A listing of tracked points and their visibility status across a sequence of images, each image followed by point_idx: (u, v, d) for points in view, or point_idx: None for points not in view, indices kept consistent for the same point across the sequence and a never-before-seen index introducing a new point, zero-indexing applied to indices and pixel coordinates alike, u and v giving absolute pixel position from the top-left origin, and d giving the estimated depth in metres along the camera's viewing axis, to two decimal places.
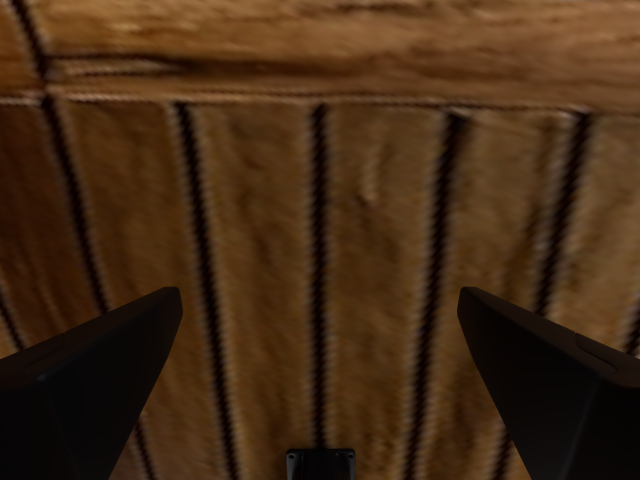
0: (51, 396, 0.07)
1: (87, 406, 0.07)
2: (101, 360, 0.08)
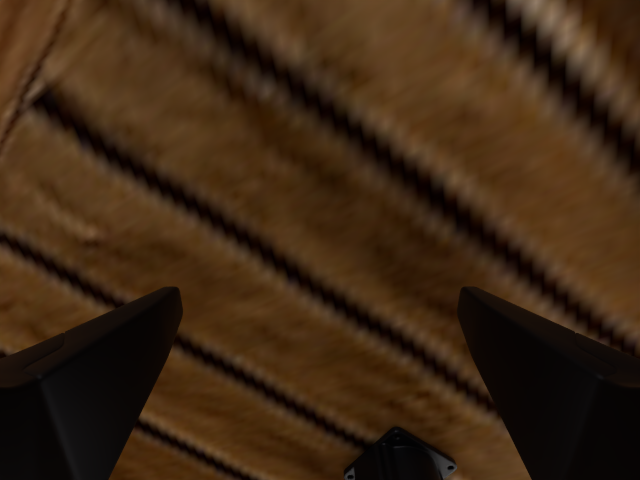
0: (51, 396, 0.07)
1: (87, 406, 0.07)
2: (101, 360, 0.08)
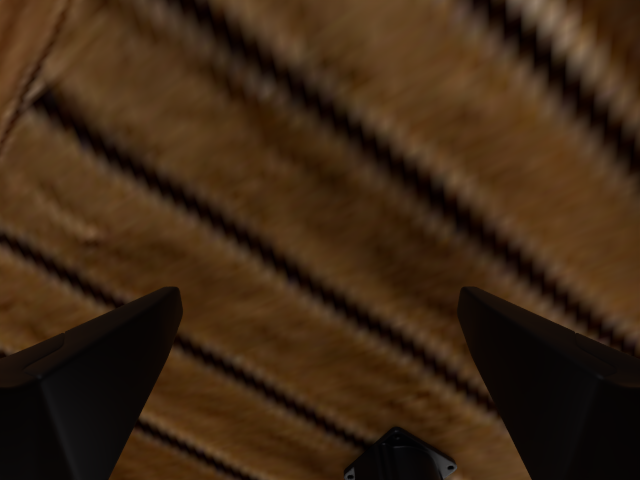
0: (51, 396, 0.07)
1: (87, 406, 0.07)
2: (101, 360, 0.08)
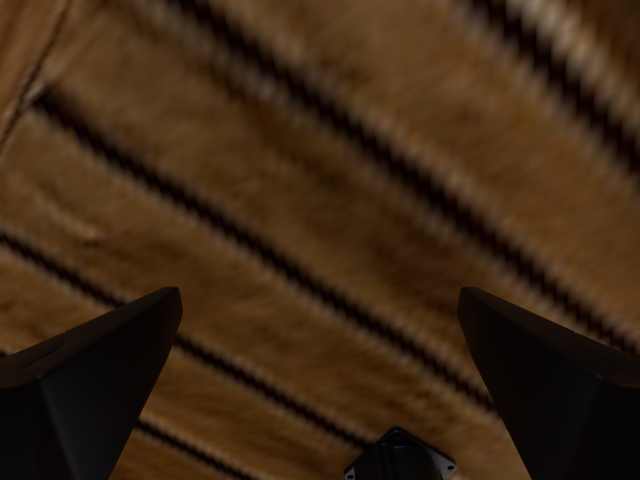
0: (51, 396, 0.07)
1: (87, 406, 0.07)
2: (101, 360, 0.08)
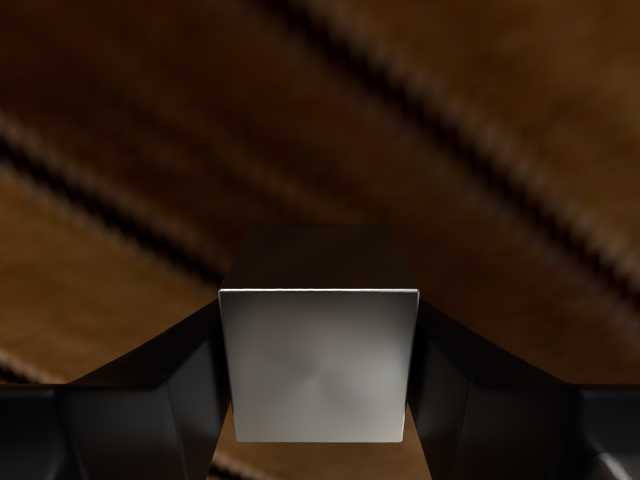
0: (173, 396, 0.07)
1: (195, 406, 0.07)
2: (204, 360, 0.08)
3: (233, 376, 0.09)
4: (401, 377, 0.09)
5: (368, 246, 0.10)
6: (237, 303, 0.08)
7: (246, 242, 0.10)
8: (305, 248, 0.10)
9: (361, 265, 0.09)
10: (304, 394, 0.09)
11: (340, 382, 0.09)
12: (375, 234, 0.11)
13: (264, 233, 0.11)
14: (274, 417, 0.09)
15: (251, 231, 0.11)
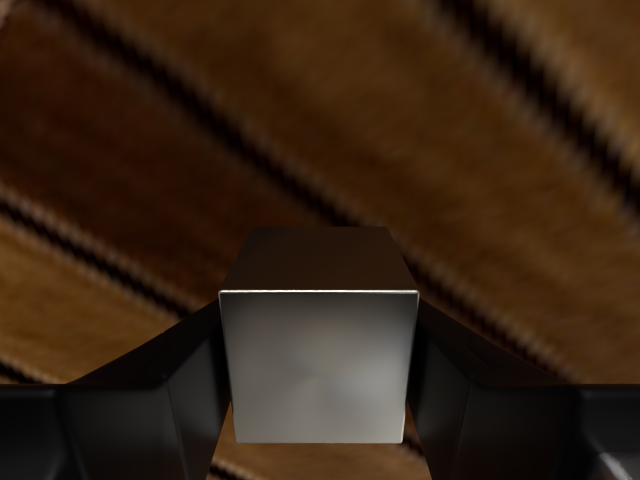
0: (173, 396, 0.07)
1: (194, 406, 0.07)
2: (204, 360, 0.08)
3: (233, 377, 0.09)
4: (401, 378, 0.09)
5: (368, 247, 0.10)
6: (237, 304, 0.08)
7: (246, 243, 0.10)
8: (305, 249, 0.10)
9: (361, 266, 0.09)
10: (304, 395, 0.09)
11: (340, 384, 0.09)
12: (375, 235, 0.11)
13: (265, 234, 0.11)
14: (274, 418, 0.09)
15: (251, 232, 0.11)
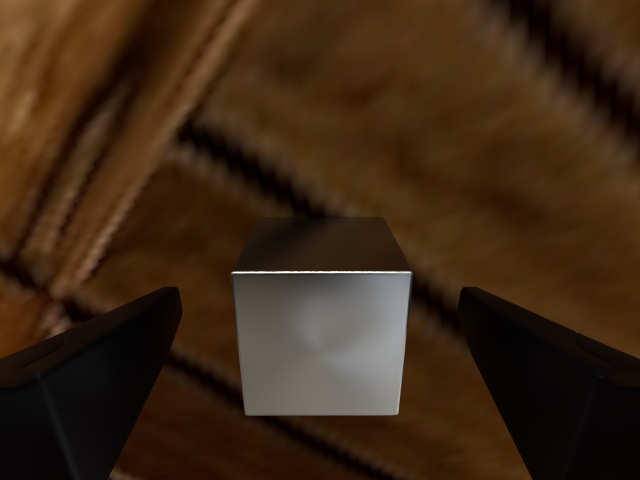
0: (50, 396, 0.07)
1: (86, 406, 0.07)
2: (100, 360, 0.08)
3: (243, 353, 0.09)
4: (396, 353, 0.09)
5: (367, 235, 0.11)
6: (247, 284, 0.09)
7: (254, 232, 0.11)
8: (308, 237, 0.11)
9: (360, 251, 0.10)
10: (308, 369, 0.10)
11: (341, 359, 0.10)
12: (373, 225, 0.12)
13: (270, 224, 0.12)
14: (280, 391, 0.10)
15: (257, 222, 0.12)
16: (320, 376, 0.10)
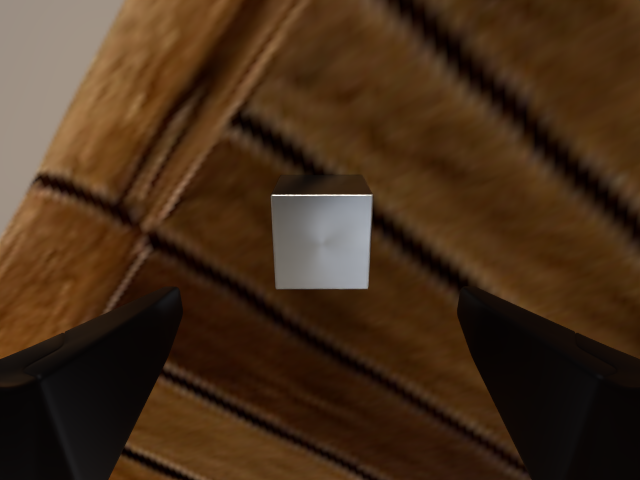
0: (51, 396, 0.07)
1: (87, 406, 0.07)
2: (101, 360, 0.08)
3: (276, 246, 0.16)
4: (366, 246, 0.16)
5: (349, 182, 0.18)
6: (280, 202, 0.15)
7: (280, 180, 0.18)
8: (314, 182, 0.17)
9: (344, 188, 0.16)
10: (314, 256, 0.16)
11: (333, 250, 0.16)
12: (354, 178, 0.18)
13: (289, 177, 0.19)
14: (297, 272, 0.17)
15: (281, 177, 0.19)
16: (321, 261, 0.17)
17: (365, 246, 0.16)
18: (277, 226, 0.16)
